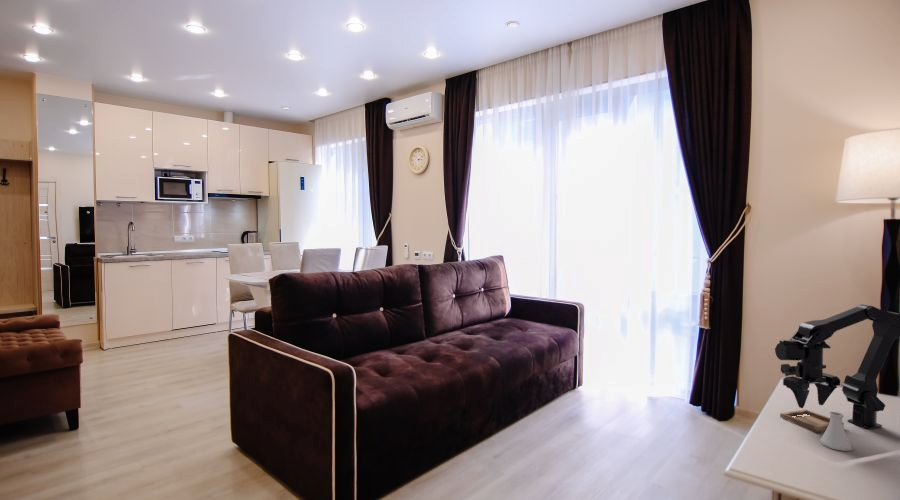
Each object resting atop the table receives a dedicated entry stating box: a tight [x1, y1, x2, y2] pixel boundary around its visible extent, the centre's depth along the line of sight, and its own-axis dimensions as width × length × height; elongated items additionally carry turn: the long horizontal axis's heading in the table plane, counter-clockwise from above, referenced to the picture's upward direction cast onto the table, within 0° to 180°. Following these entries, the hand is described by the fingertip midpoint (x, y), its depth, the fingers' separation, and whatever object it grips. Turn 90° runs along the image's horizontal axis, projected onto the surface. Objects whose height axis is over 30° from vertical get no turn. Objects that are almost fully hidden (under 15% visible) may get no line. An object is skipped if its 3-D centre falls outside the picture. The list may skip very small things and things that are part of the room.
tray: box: [779, 409, 844, 434], centre depth 151 cm, size 12×12×2 cm
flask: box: [819, 411, 853, 452], centre depth 135 cm, size 7×7×10 cm
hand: (810, 406), depth 151 cm, fingers open, 9 cm apart
